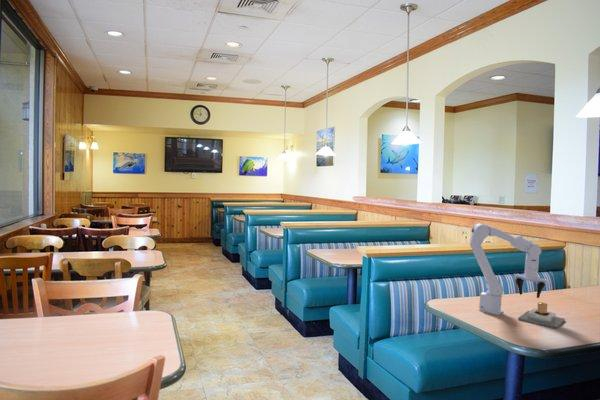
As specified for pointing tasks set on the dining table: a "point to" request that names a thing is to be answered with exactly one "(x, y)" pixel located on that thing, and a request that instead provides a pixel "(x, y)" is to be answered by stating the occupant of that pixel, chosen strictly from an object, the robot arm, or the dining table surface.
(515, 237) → the robot arm
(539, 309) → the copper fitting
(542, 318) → the flange socket
